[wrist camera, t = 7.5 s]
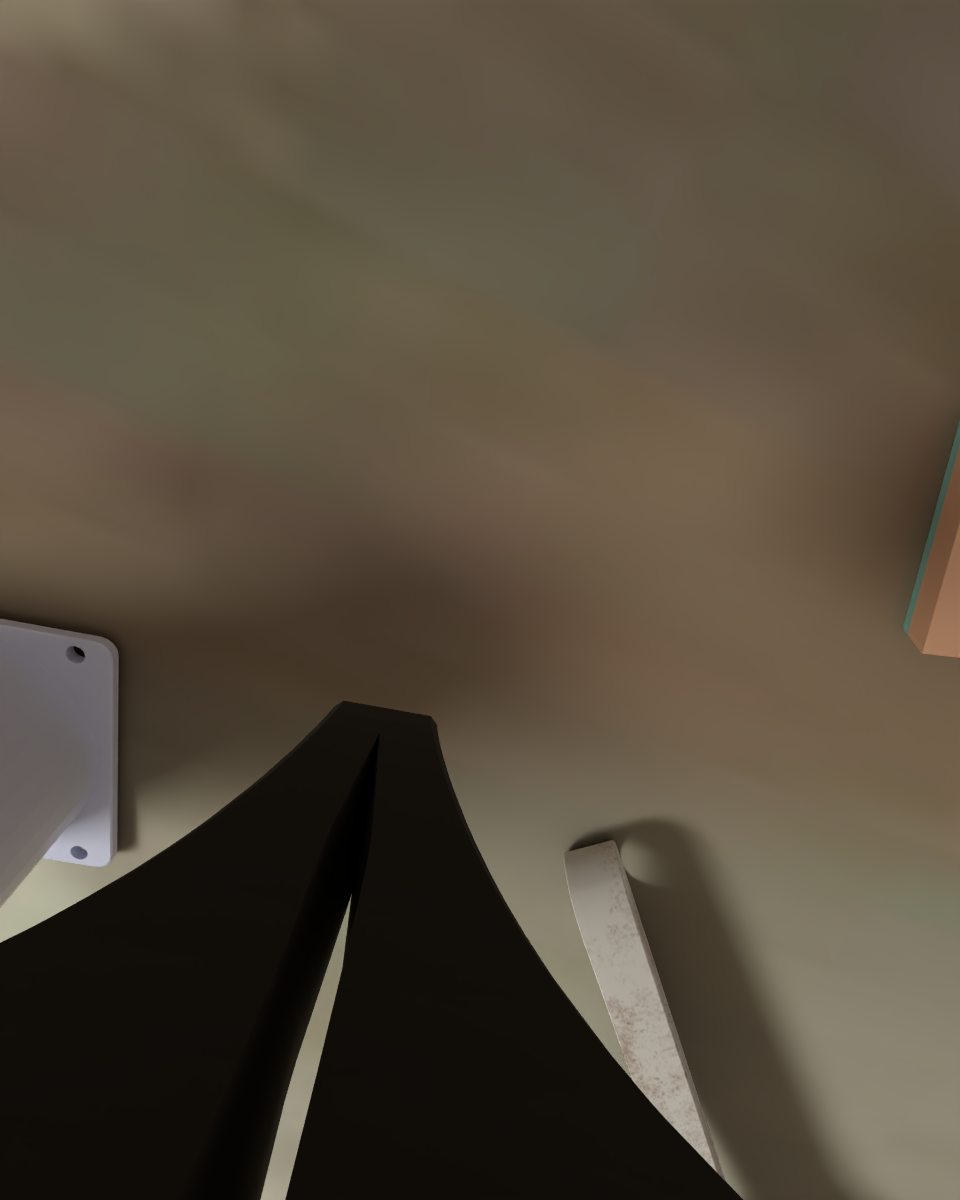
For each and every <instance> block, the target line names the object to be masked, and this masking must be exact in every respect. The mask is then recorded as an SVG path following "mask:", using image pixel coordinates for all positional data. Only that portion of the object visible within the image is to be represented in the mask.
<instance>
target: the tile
mask: <svg viewBox="0 0 960 1200" xmlns="http://www.w3.org/2000/svg"><path fill="white" fill-rule="evenodd" d="M903 630H904V631H905V633H906V634H907V635H908V636H909V638H910V639H911V640H912V641H913V643H914V644H915V645H916V646H917V648H918V649H919V650H920V652H921V653H922V654H931V655H940V656H949V657H957V658H960V421H959V425H958V428H957V432H956V436H955V439H954V443H953V447H952V450H951V454H950V458H949V461H948V465H947V469H946V472H945V476H944V480H943V483H942V487H941V491H940V494H939V498H938V502H937V505H936V509H935V513H934V516H933V520H932V524H931V527H930V531H929V535H928V538H927V542H926V546H925V549H924V553H923V557H922V560H921V564H920V568H919V571H918V575H917V579H916V582H915V586H914V590H913V593H912V597H911V601H910V604H909V608H908V612H907V615H906V619H905V623H904V626H903Z"/></svg>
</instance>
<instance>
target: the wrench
mask: <svg viewBox="0 0 960 1200" xmlns="http://www.w3.org/2000/svg"><path fill="white" fill-rule="evenodd" d="M564 867H565V874H566V879H567V884H568V889H569V893H570V898H571V901H572V905H573V909H574V913H575V916H576V920H577V923H578V927H579V930H580V933H581V936H582V939H583V942H584V945H585V947H586V950H587V953H588V956H589V958H590V961H591V964H592V967H593V970H594V973H595V975H596V978H597V981H598V984H599V987H600V990H601V992H602V995H603V998H604V1001H605V1004H606V1007H607V1009H608V1012H609V1015H610V1018H611V1021H612V1023H613V1026H614V1029H615V1032H616V1035H617V1038H618V1040H619V1043H620V1046H621V1049H622V1052H623V1055H624V1057H625V1060H626V1063H627V1066H628V1069H629V1072H630V1074H631V1077H632V1080H633V1082H634V1083H635V1084H636V1085H637V1086H638V1088H639V1089H640V1090H641V1091H642V1092H643V1093H644V1095H645V1096H646V1097H647V1098H648V1099H649V1101H650V1102H651V1103H652V1104H653V1105H654V1106H655V1107H656V1108H657V1110H658V1111H659V1112H660V1113H661V1114H662V1115H663V1116H664V1117H665V1119H666V1120H667V1121H668V1122H669V1123H670V1124H671V1125H672V1126H673V1127H674V1128H675V1129H676V1130H677V1131H678V1132H679V1133H680V1134H681V1135H682V1136H683V1137H684V1138H685V1139H686V1141H687V1142H688V1143H689V1144H690V1145H691V1146H692V1147H693V1148H694V1149H695V1150H696V1151H697V1152H698V1153H699V1154H700V1155H701V1156H702V1157H703V1158H704V1159H705V1160H706V1161H707V1162H708V1164H709V1165H710V1166H711V1167H712V1168H713V1169H714V1170H715V1171H716V1172H717V1173H718V1174H719V1175H720V1176H721V1177H722V1178H723V1179H724V1180H725V1178H724V1175H723V1172H722V1169H721V1166H720V1163H719V1159H718V1156H717V1153H716V1150H715V1147H714V1144H713V1141H712V1138H711V1135H710V1132H709V1129H708V1125H707V1122H706V1119H705V1116H704V1113H703V1110H702V1107H701V1104H700V1101H699V1098H698V1095H697V1091H696V1088H695V1085H694V1082H693V1079H692V1076H691V1073H690V1070H689V1067H688V1064H687V1061H686V1058H685V1054H684V1051H683V1048H682V1045H681V1042H680V1039H679V1036H678V1033H677V1030H676V1027H675V1024H674V1021H673V1017H672V1014H671V1011H670V1008H669V1005H668V1002H667V999H666V996H665V993H664V990H663V987H662V984H661V980H660V977H659V974H658V971H657V968H656V965H655V962H654V959H653V956H652V953H651V949H650V946H649V943H648V940H647V937H646V934H645V931H644V928H643V925H642V922H641V919H640V915H639V912H638V909H637V906H636V903H635V900H634V897H633V894H632V891H631V888H630V885H629V882H628V879H627V876H626V873H625V870H624V867H623V866H622V861H621V858H620V855H619V852H618V849H617V846H616V843H615V841H613V840H611V841H607V842H603V843H599V844H596V845H592V846H588V847H584V848H580V849H576V850H572V851H569V852H565V854H564Z"/></svg>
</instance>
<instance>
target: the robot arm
mask: <svg viewBox="0 0 960 1200" xmlns="http://www.w3.org/2000/svg"><path fill="white" fill-rule="evenodd" d="M73 646H76V647H78V648H80V649H81V650H82V651H83V652H84V654H85V657H82V656H80V655H78V654H77V653H76V652H75V650H74V647H73ZM118 673H119V655H118V651H117V648H116V647H115V645H114V644H113V643H112V642H111V641H109V640H108V639H106V638H103V637H100V636H94V635H89V634H83V633H78V632H72V631H67V630H61V629H56V628H50V627H45V626H39V625H33V624H28V623H22V622H17V621H11V620H6V619H0V908H1V907H2V905H3V904H4V903H5V902H6V901H7V899H8V898H9V897H10V896H11V895H12V893H13V892H14V891H15V890H16V889H17V887H18V886H19V885H20V884H21V883H22V881H23V880H24V879H25V878H26V877H27V875H28V874H29V873H30V872H31V871H32V869H33V868H34V867H35V866H36V865H37V863H38V862H39V861H40V860H41V859H42V858H45V859H51V860H58V861H64V862H70V863H77V864H83V865H89V866H96V867H103V866H106V865H108V864H109V863H110V862H111V861H112V860H113V858H114V857H115V855H116V853H117V815H118ZM79 846H80V847H83V848H84V849H85V850H84V849H81V848H80V847H79ZM351 894H352V896H351ZM350 897H351V904H350V912H349V920H348V928H347V936H346V944H345V952H344V960H343V968H342V972H341V976H340V981H339V985H338V989H337V993H336V997H335V1001H334V1005H333V1010H332V1014H331V1018H330V1022H329V1026H328V1030H327V1034H326V1038H325V1043H324V1047H323V1051H322V1055H321V1059H320V1063H319V1067H318V1071H317V1075H316V1079H315V1083H314V1087H313V1091H312V1095H311V1099H310V1104H309V1108H308V1112H307V1116H306V1120H305V1124H304V1128H303V1132H302V1136H301V1140H300V1144H299V1148H298V1152H297V1156H296V1160H295V1164H294V1168H293V1172H292V1176H291V1180H290V1184H289V1188H288V1192H287V1196H286V1200H743V1199H742V1198H741V1197H740V1196H739V1195H738V1194H737V1193H736V1192H735V1191H734V1190H733V1189H732V1188H731V1187H730V1186H729V1184H728V1183H727V1182H726V1181H725V1180H724V1179H723V1178H722V1177H721V1176H720V1175H719V1174H718V1173H717V1172H716V1171H715V1170H714V1169H713V1168H712V1167H711V1166H710V1165H709V1164H708V1162H707V1161H706V1160H705V1159H704V1158H703V1157H702V1156H701V1155H700V1154H699V1153H698V1152H697V1151H696V1150H695V1149H694V1148H693V1147H692V1146H691V1145H690V1144H689V1143H688V1142H687V1141H686V1139H685V1138H684V1137H683V1136H682V1135H681V1134H680V1133H679V1132H678V1131H677V1130H676V1129H675V1128H674V1127H673V1126H672V1125H671V1124H670V1123H669V1122H668V1121H667V1120H666V1119H665V1117H664V1116H663V1115H662V1114H661V1113H660V1112H659V1111H658V1110H657V1108H656V1107H655V1106H654V1105H653V1104H652V1103H651V1102H650V1101H649V1099H648V1098H647V1097H646V1096H645V1095H644V1093H643V1092H642V1091H641V1090H640V1089H639V1088H638V1086H637V1085H636V1084H635V1083H634V1082H633V1080H632V1079H631V1078H630V1077H629V1076H628V1075H627V1073H626V1072H625V1071H624V1070H623V1069H622V1067H621V1066H620V1065H619V1064H618V1063H617V1062H616V1060H615V1059H614V1058H613V1057H612V1056H611V1054H610V1053H609V1052H608V1050H607V1049H606V1048H605V1046H604V1045H603V1044H602V1042H601V1041H600V1040H599V1038H598V1037H597V1036H596V1034H595V1033H594V1032H593V1030H592V1029H591V1028H590V1026H589V1025H588V1024H587V1022H586V1021H585V1020H584V1018H583V1017H582V1016H581V1014H580V1013H579V1012H578V1010H577V1009H576V1008H575V1006H574V1005H573V1004H572V1002H571V1001H570V1000H569V998H568V997H567V996H566V994H565V993H564V992H563V990H562V989H561V988H560V986H559V985H558V984H557V982H556V981H555V980H554V978H553V977H552V975H551V974H550V972H549V971H548V969H547V968H546V966H545V965H544V963H543V962H542V960H541V959H540V957H539V956H538V954H537V952H536V951H535V949H534V948H533V946H532V945H531V943H530V942H529V940H528V939H527V937H526V936H525V934H524V932H523V931H522V929H521V927H520V926H519V924H518V922H517V920H516V919H515V917H514V915H513V914H512V912H511V910H510V909H509V907H508V905H507V904H506V902H505V900H504V898H503V896H502V895H501V893H500V891H499V889H498V887H497V885H496V883H495V882H494V880H493V878H492V876H491V874H490V872H489V870H488V868H487V866H486V864H485V862H484V860H483V858H482V855H481V853H480V851H479V849H478V847H477V845H476V843H475V841H474V839H473V836H472V834H471V832H470V829H469V827H468V825H467V823H466V820H465V818H464V815H463V812H462V810H461V807H460V805H459V802H458V800H457V797H456V795H455V792H454V789H453V786H452V784H451V781H450V778H449V775H448V772H447V768H446V765H445V762H444V758H443V755H442V751H441V747H440V742H439V737H438V731H437V724H436V723H435V722H434V720H433V719H432V717H431V716H426V715H421V714H415V713H409V712H404V711H398V710H393V709H387V708H381V707H376V706H370V705H365V704H359V703H353V702H348V701H343V702H341V703H340V704H338V705H336V706H335V707H334V708H333V709H332V710H331V711H330V712H329V714H328V715H327V716H326V717H325V718H324V719H323V720H322V721H321V722H320V723H319V724H318V725H317V726H316V727H315V728H314V729H313V730H312V731H311V732H310V733H309V734H308V735H307V736H306V737H305V738H304V739H303V740H302V741H301V742H300V743H299V744H298V745H297V746H296V747H295V748H294V749H293V750H292V751H291V752H290V753H288V754H287V755H286V756H285V757H284V758H283V759H282V760H281V761H279V762H278V763H277V764H276V765H275V766H274V767H273V768H272V769H270V770H269V771H268V772H267V773H266V774H265V775H264V776H263V777H261V778H260V779H259V780H258V781H257V782H255V783H254V784H253V785H252V786H251V787H249V788H248V789H247V790H245V791H244V792H243V793H242V794H240V795H239V796H238V797H236V798H235V799H234V800H233V801H231V802H230V803H229V804H227V805H226V806H225V807H224V808H222V809H221V810H220V811H219V812H217V813H216V814H215V815H213V816H212V817H211V818H210V819H208V820H207V821H205V822H204V823H203V824H201V825H200V826H198V827H197V828H196V829H194V830H193V831H191V832H190V833H189V834H187V835H186V836H184V837H183V838H181V839H180V840H179V841H177V842H176V843H174V844H173V845H171V846H170V847H168V848H167V849H165V850H164V851H162V852H160V853H159V854H157V855H156V856H154V857H153V858H151V859H150V860H148V861H147V862H145V863H143V864H142V865H140V866H139V867H137V868H136V869H134V870H132V871H131V872H129V873H127V874H126V875H124V876H122V877H121V878H119V879H117V880H115V881H114V882H112V883H110V884H109V885H107V886H105V887H103V888H102V889H100V890H98V891H97V892H95V893H93V894H91V895H90V896H88V897H86V898H85V899H83V900H81V901H79V902H77V903H76V904H74V905H72V906H70V907H68V908H66V909H65V910H63V911H61V912H59V913H57V914H56V915H54V916H52V917H50V918H48V919H47V920H45V921H43V922H41V923H39V924H37V925H35V926H33V927H31V928H29V929H27V930H25V931H23V932H21V933H19V934H17V935H15V936H13V937H11V938H9V939H7V940H5V941H3V942H1V943H0V1200H260V1199H261V1195H262V1191H263V1187H264V1183H265V1178H266V1174H267V1170H268V1166H269V1162H270V1158H271V1154H272V1150H273V1146H274V1142H275V1138H276V1134H277V1130H278V1126H279V1122H280V1118H281V1113H282V1109H283V1105H284V1101H285V1098H286V1094H287V1091H288V1087H289V1084H290V1081H291V1077H292V1074H293V1070H294V1067H295V1063H296V1060H297V1057H298V1054H299V1051H300V1048H301V1045H302V1042H303V1039H304V1036H305V1033H306V1030H307V1027H308V1024H309V1021H310V1018H311V1015H312V1012H313V1009H314V1006H315V1003H316V1000H317V997H318V994H319V991H320V988H321V985H322V982H323V979H324V976H325V973H326V970H327V967H328V964H329V961H330V958H331V955H332V952H333V949H334V946H335V943H336V940H337V937H338V934H339V931H340V928H341V925H342V922H343V919H344V916H345V913H346V910H347V906H348V903H349V900H350Z"/></svg>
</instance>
